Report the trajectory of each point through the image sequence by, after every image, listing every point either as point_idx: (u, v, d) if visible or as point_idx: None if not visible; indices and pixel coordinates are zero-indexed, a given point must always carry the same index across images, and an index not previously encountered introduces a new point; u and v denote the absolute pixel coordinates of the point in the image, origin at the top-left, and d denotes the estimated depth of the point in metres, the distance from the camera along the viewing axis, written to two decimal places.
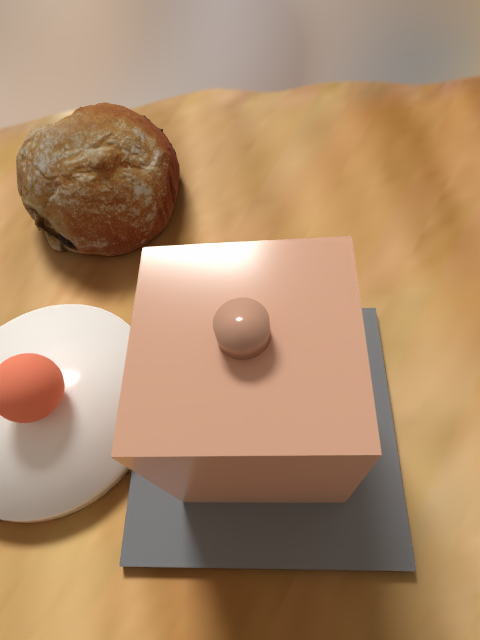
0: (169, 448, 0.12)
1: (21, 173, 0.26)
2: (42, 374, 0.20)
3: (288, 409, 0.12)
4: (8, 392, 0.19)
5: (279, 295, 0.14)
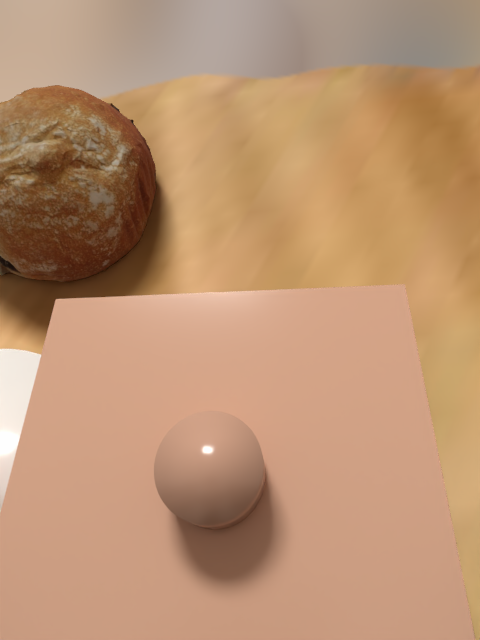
0: None
1: None
2: None
3: None
4: None
5: (281, 394, 0.08)
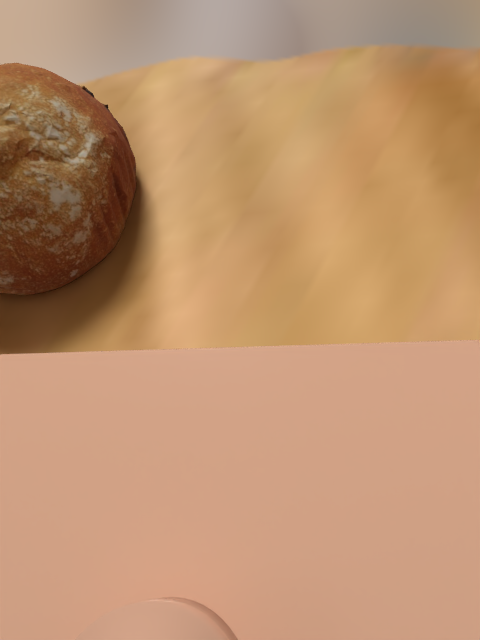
0: None
1: None
2: None
3: None
4: None
5: (283, 538, 0.05)
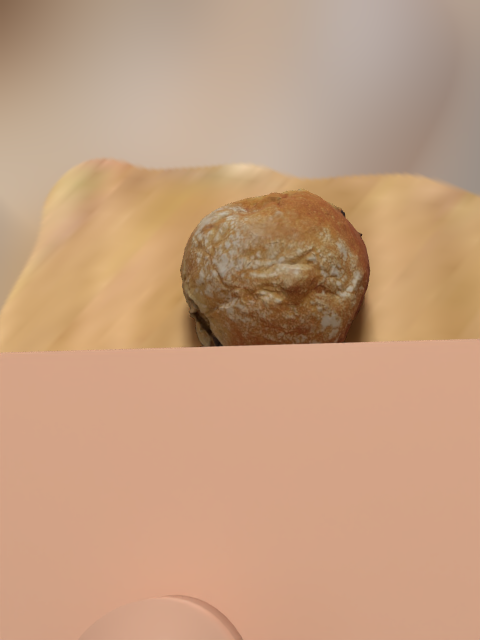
0: None
1: (193, 262, 0.22)
2: None
3: None
4: None
5: (287, 536, 0.05)
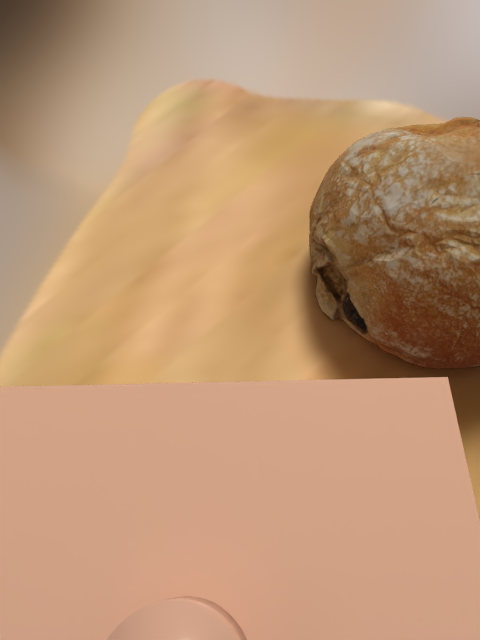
0: None
1: (339, 195, 0.16)
2: None
3: None
4: None
5: (280, 547, 0.05)
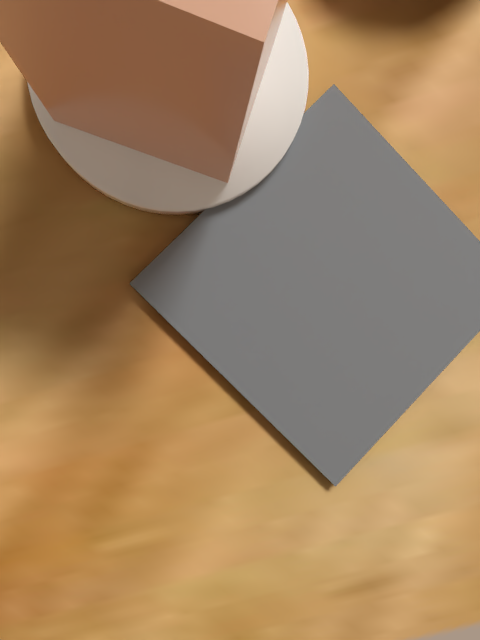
0: None
1: None
2: None
3: None
4: None
5: None
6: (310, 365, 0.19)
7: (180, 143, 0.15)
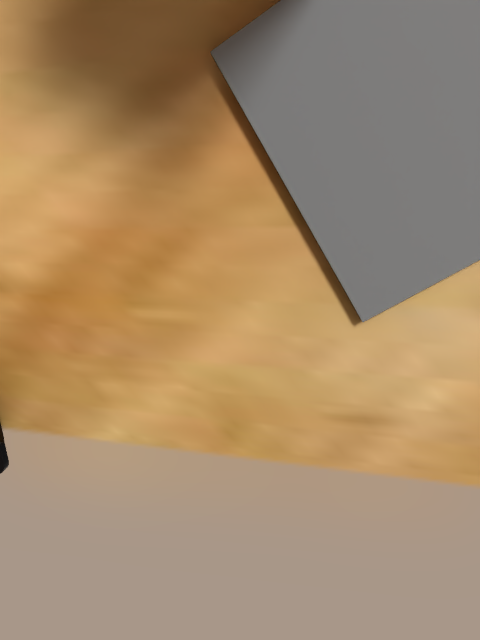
0: None
1: None
2: None
3: None
4: None
5: None
6: (377, 193, 0.17)
7: None
